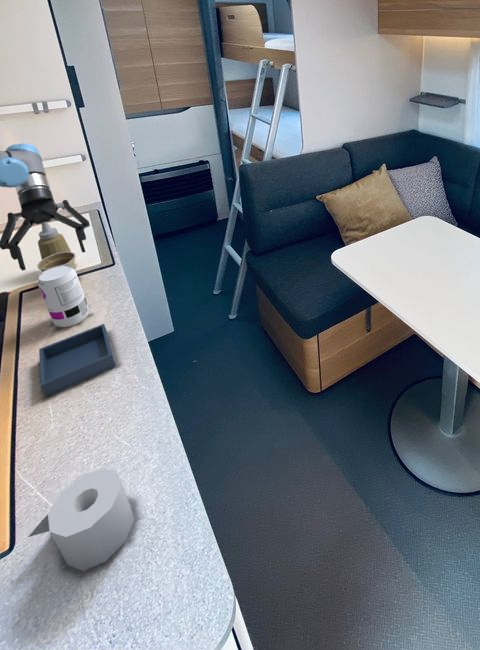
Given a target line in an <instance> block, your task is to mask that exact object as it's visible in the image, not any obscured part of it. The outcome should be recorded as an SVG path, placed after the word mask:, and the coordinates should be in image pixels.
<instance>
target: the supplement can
mask: <svg viewBox="0 0 480 650" xmlns="http://www.w3.org/2000/svg"><path fill="white" fill-rule="evenodd" d="M37 287H38V288H39V289H38V290H39V292H40V293H41V296H42V299H43V301H44V303H45V306H46V309H47V311H48V313H49V317H50V318H51V321H52V323H53V325H54V326H55V327H57V328H68V327H73V326H76V325H78V324H79V323H81V322H82V321H84V320H85V319H86V318H87V317H88V315H89V314H90V310H91V309H90V307H89V304H88V302H87V298H86V296H85V293H84V290H83V288H82V285H81V281H80V279H79V277H78V274H77V270H76V271H75V270H74V269H73V268H71V266H68V265H61V266H56V267H53V268H50V269H48V270H46V271H44V272H41V273H40V274H39V276H38V280H37Z"/></svg>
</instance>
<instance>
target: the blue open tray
mask: <svg viewBox="0 0 480 650" xmlns="http://www.w3.org/2000/svg"><path fill="white" fill-rule="evenodd" d="M38 354H39V378H40V379H39V381H40V387H41V389H42V392H43V394H44V396H45V398H48V397H51V396H53V395H55V394H57V393H59V392H61V391H64V390H66V389H68V388H71V387H72V386H75V385H77V384H79V383H82V382H84V381H87V380H89V379H91V378H93V377H95V376H97V375H99V374H102V373H104V372H106V371H108V370H111V369H113V368H115V367H117V364H116V360H115V357H114V352H113V349H112V346H111V342H110V338H109V333H108V331H107V328H106V325H105V323H102V324H99V325H96V326H95V327H92V328H88V329H87V330H84V331H82V332H79V333H77V334H74V335H71V336H68V337H66V338H64V339H61V340H58V341H55V342H53V343H50V344H48V345H45V346H43V347H41V348H38Z"/></svg>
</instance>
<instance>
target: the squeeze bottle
mask: <svg viewBox="0 0 480 650" xmlns="http://www.w3.org/2000/svg"><path fill="white" fill-rule="evenodd" d="M38 237H39V239H38V241H37V246H38V250H39V254H40V258H41V260H43V259H44V258H46V257H48V256H51V255H53V254H56V253H61V252H72V250H71V248H70V247H69V244H68V243H67V240H66V239H65V237H64V235H63V234H62V233H59V232H58V229H57V228H56V227H52V226H51V225H50V223H49V222H43V223H41V231H40V232H38Z"/></svg>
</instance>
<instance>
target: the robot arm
mask: <svg viewBox="0 0 480 650" xmlns="http://www.w3.org/2000/svg"><path fill="white" fill-rule="evenodd" d="M0 188H9V189H10V188H12V189H13V188H15V191H16V192H15V193H16V195H17V199H18V202H19V205H20V209H21V210H20V212H16V213H14V212H11V211H10V212H8V213H7V222H6V224H5V227H4V229H3V232H2V234H1V237H0V249H1V250H8V251H9V254H10V257H11V259H12V260H14V261H15V260H17V262H18V266H19V269H20V270H21V271H25V270H27V268H26V265H25V261H24V258H23V254H22V250H21V247H20V246H19V244H20V243H21V242H22V240H23V239H24V237H25V236H26V234H27V233H28V232H29V230H30V229H31V228H32V227H33V226H34V225H40V224H41V225H42V223H43V222H48V223H49V222H51V221H52V220H55V221H57V222H60V223H61V224H64V225H66V226H68V227H70V228H73V229H74V231H75V235H76V238H77V241H78V244H79V247H80V250H81V252H82V253H87V252H86V247H85V245H84V243H83V241H86V240H87V236H86V233H85V229H86V228H89V227H90V226H91V224H90V221H89V220H88V219H87V218H86V217H84V216H83V215H82V214H81V213H80V212H78V211H77V210H76V209H75V208H74V207H72V206H71V205H70V202H69V200H68V199H63V200H62V202H58V203H56V202H55V199H54V196H53V193H52V190H51V186H50V183H49V180H48V177H47V173H46V169H45V167H44V163H43V157H42V156H41V154H40V151H39V150H38V147H36V145H34V144H32V143H27V142H22V143H21V142H20V143H14V144H11V145H9V146H8V147H7V148H6V149H5V150H0ZM59 209H61V210H66V212H67V213H68V214H70V215H71V216H72V217H73V218H74V219H75V220H77V221H78V222H77V221H75V220H74V219H72V218H69V217H67V216H64V215H63V214H60V213H59V212H58V210H59ZM20 218H22V219H24V220H23V222H22V224H21V226H19V228H18V229H17V230H16V232H15V234H14V235H13V232H14V230H15V227H16V224H17V222H18V221H19V220H20ZM12 235H13V236H12Z"/></svg>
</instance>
